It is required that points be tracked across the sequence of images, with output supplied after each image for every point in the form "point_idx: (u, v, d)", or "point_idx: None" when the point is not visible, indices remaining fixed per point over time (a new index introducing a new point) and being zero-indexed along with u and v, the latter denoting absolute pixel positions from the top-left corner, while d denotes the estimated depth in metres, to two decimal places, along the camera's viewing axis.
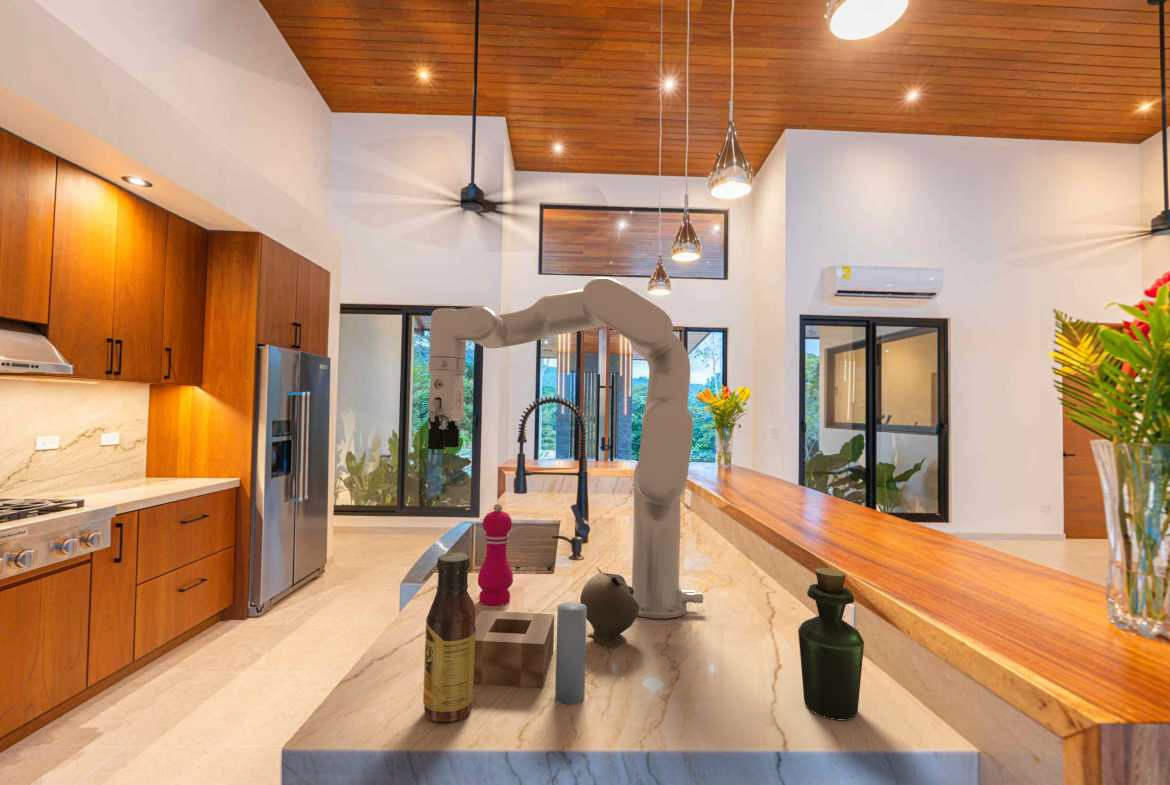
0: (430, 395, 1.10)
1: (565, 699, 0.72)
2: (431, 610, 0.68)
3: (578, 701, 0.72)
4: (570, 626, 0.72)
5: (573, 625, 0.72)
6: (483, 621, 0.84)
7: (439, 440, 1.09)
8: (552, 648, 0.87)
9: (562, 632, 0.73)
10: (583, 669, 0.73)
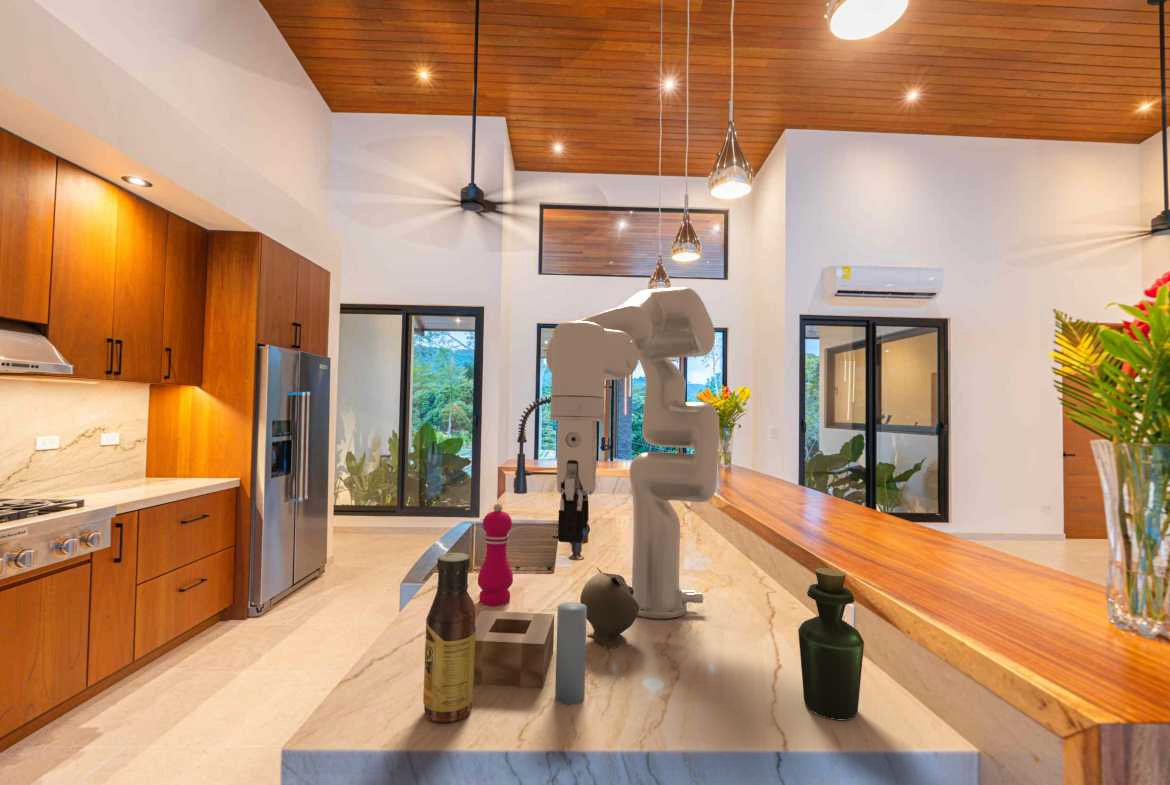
0: (560, 457, 0.71)
1: (565, 699, 0.72)
2: (431, 610, 0.68)
3: (578, 701, 0.72)
4: (570, 626, 0.72)
5: (573, 625, 0.72)
6: (483, 621, 0.84)
7: (576, 528, 0.70)
8: (552, 648, 0.87)
9: (562, 632, 0.73)
10: (583, 669, 0.73)
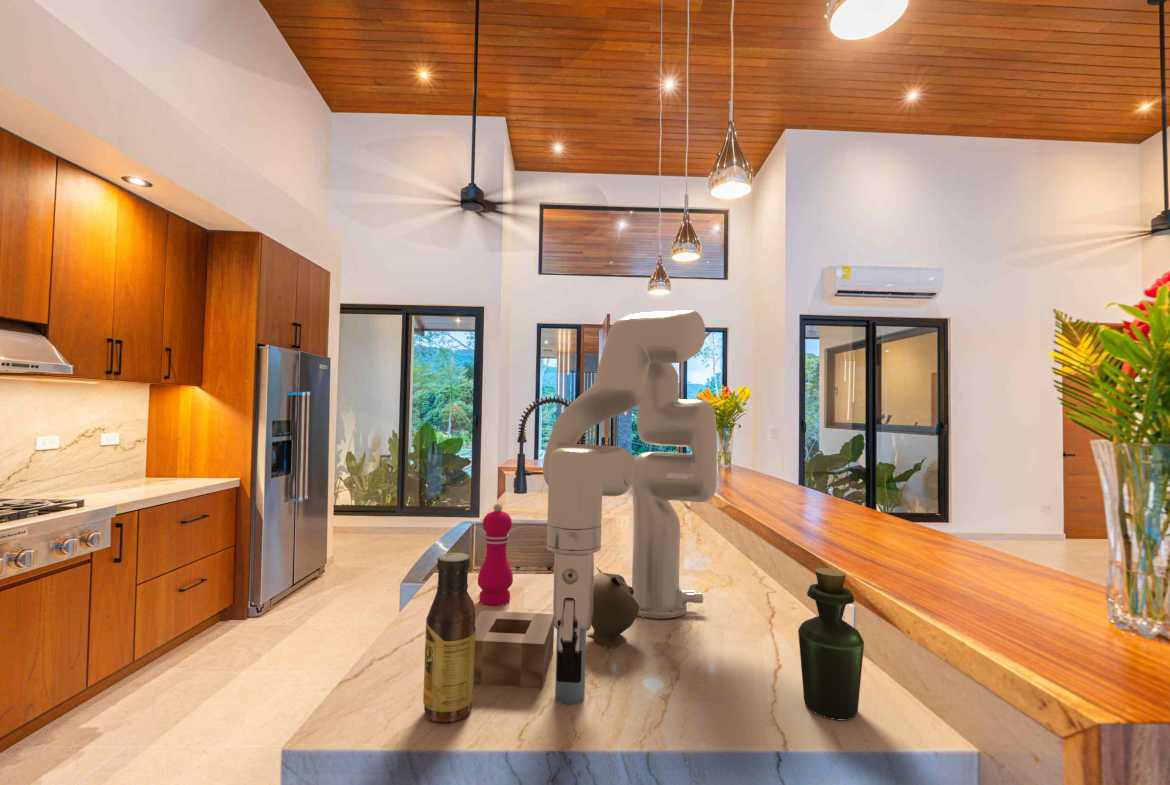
0: (556, 593, 0.70)
1: (565, 699, 0.72)
2: (431, 610, 0.68)
3: (578, 701, 0.72)
4: None
5: (573, 625, 0.72)
6: (483, 621, 0.84)
7: (574, 669, 0.71)
8: (552, 648, 0.87)
9: None
10: (583, 669, 0.73)
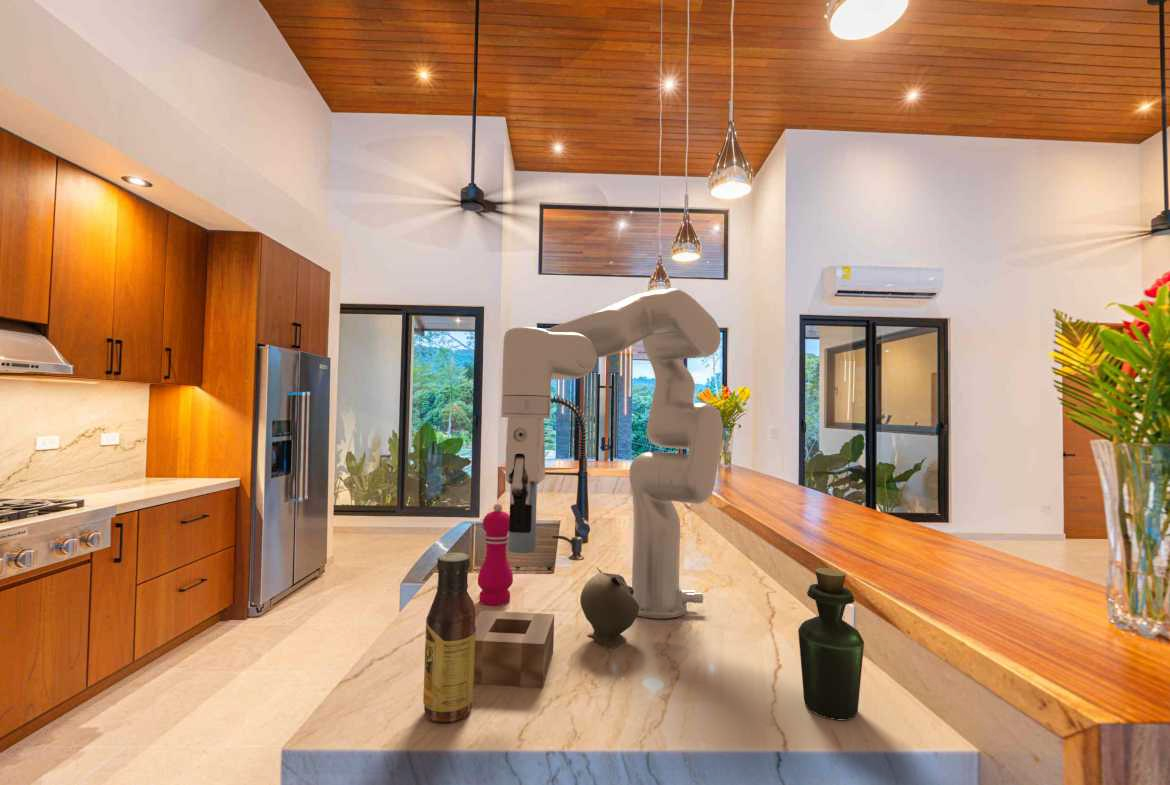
0: (508, 450, 0.78)
1: (517, 549, 0.80)
2: (431, 610, 0.68)
3: (529, 551, 0.81)
4: None
5: (524, 483, 0.81)
6: (483, 621, 0.84)
7: (525, 520, 0.79)
8: (552, 648, 0.87)
9: None
10: (533, 523, 0.81)
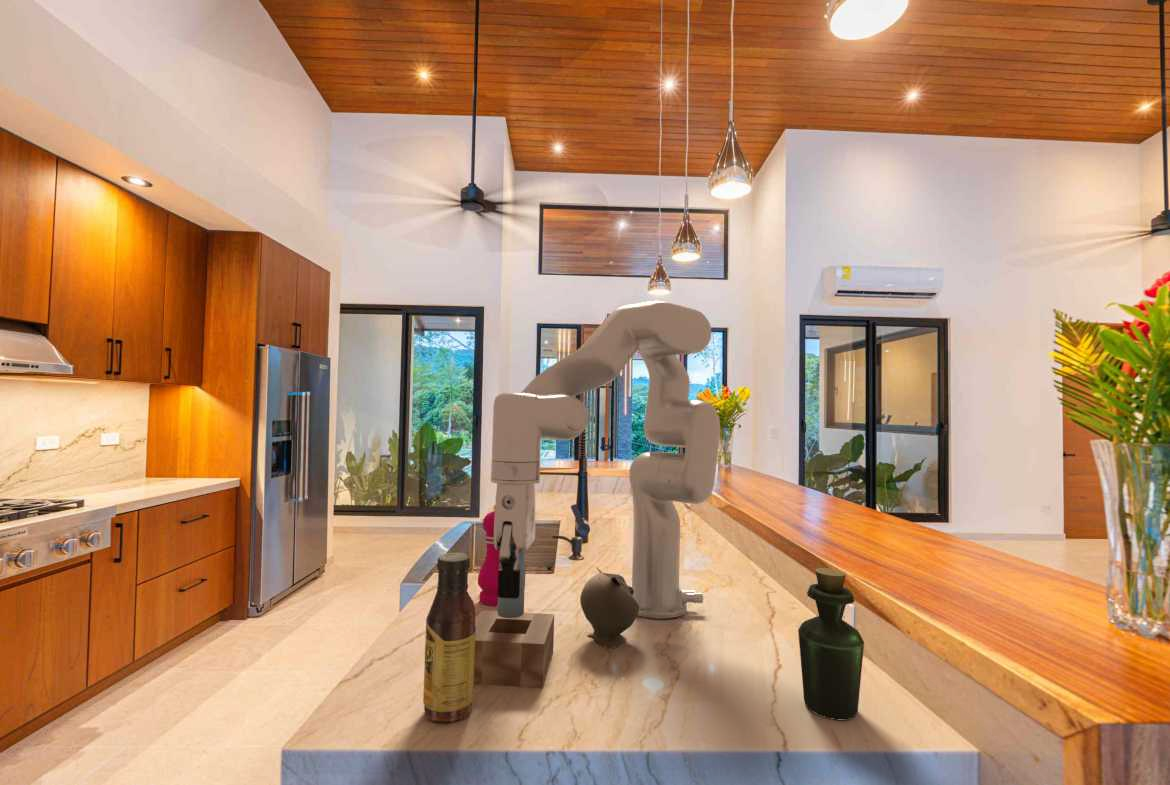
0: (496, 518, 0.79)
1: (505, 613, 0.81)
2: (431, 610, 0.68)
3: (517, 616, 0.81)
4: None
5: (513, 548, 0.81)
6: (483, 621, 0.84)
7: (513, 586, 0.80)
8: (552, 648, 0.87)
9: None
10: (522, 588, 0.82)
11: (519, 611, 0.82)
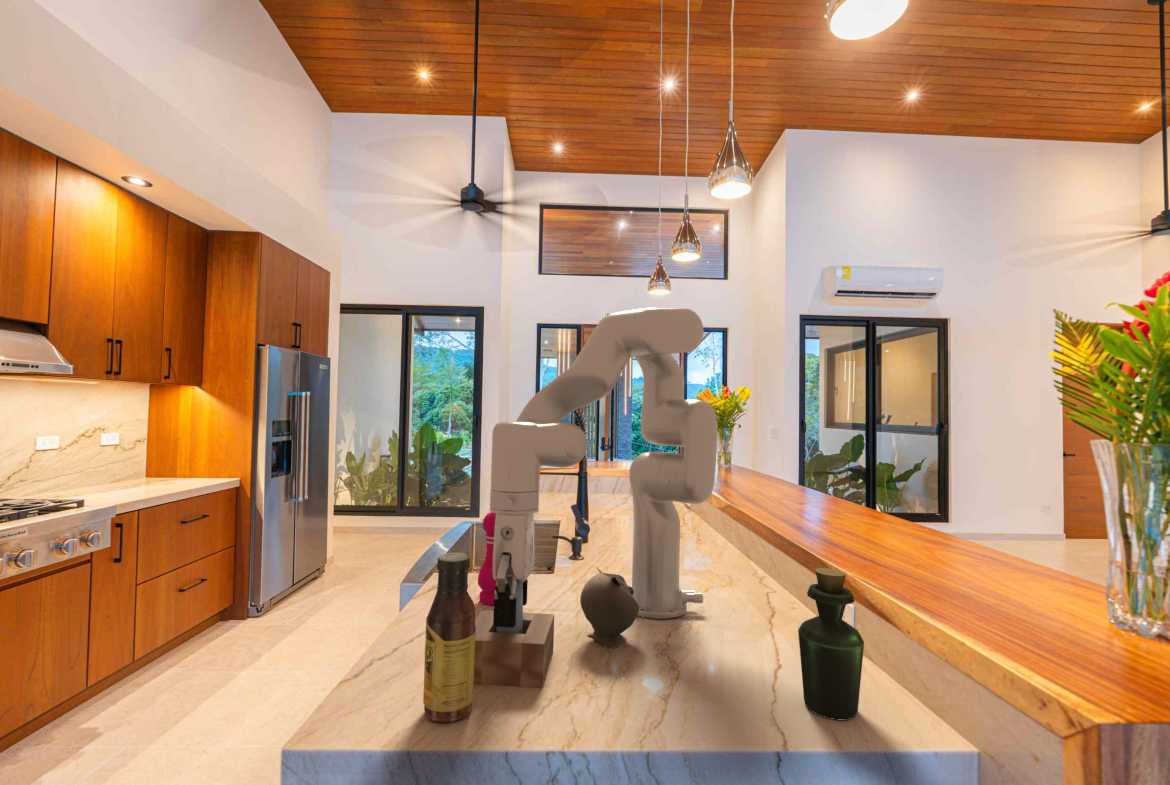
0: (495, 549, 0.79)
1: None
2: (431, 610, 0.68)
3: None
4: None
5: None
6: (483, 621, 0.84)
7: (509, 615, 0.78)
8: (552, 648, 0.87)
9: None
10: (520, 633, 0.82)
11: None
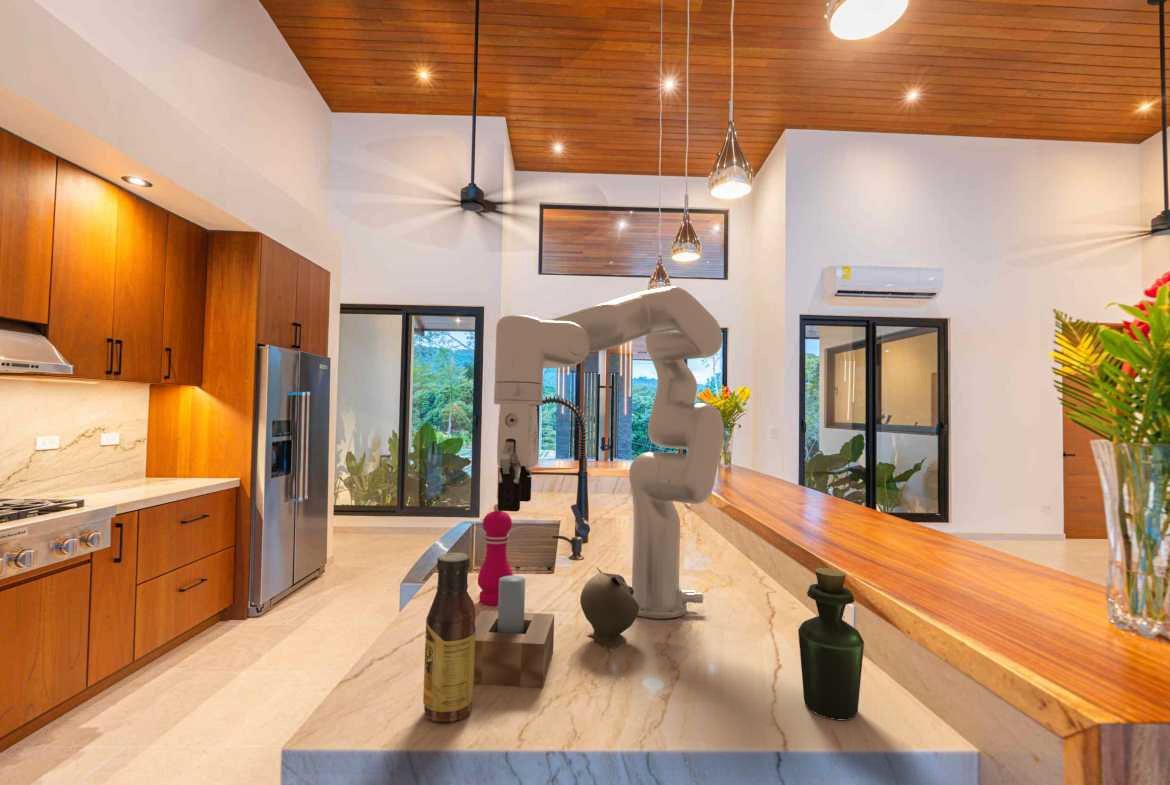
0: (500, 436, 0.80)
1: None
2: (431, 610, 0.68)
3: None
4: (509, 595, 0.81)
5: (512, 595, 0.81)
6: (483, 621, 0.84)
7: (513, 499, 0.79)
8: (552, 648, 0.87)
9: (502, 601, 0.82)
10: None
11: None
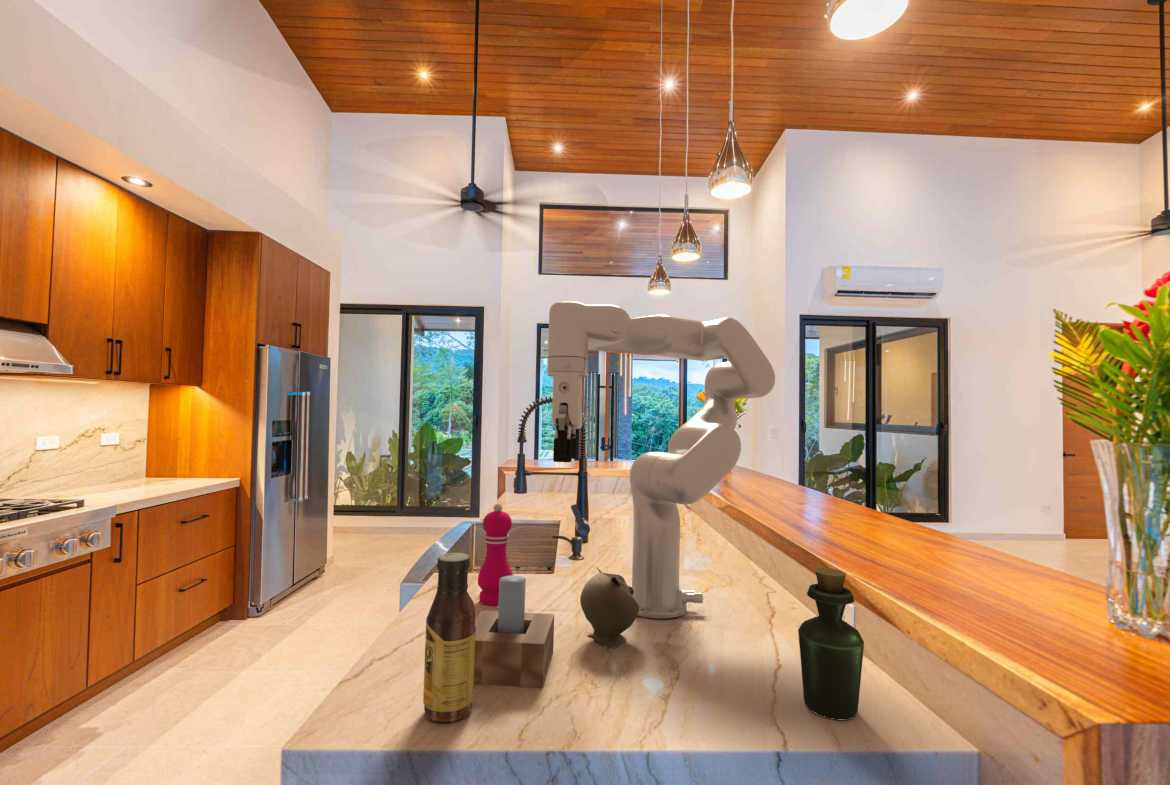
0: (554, 400, 0.97)
1: None
2: (431, 610, 0.68)
3: None
4: (510, 595, 0.81)
5: (512, 595, 0.81)
6: (483, 621, 0.84)
7: (566, 452, 0.95)
8: (552, 648, 0.87)
9: (502, 601, 0.81)
10: None
11: None
